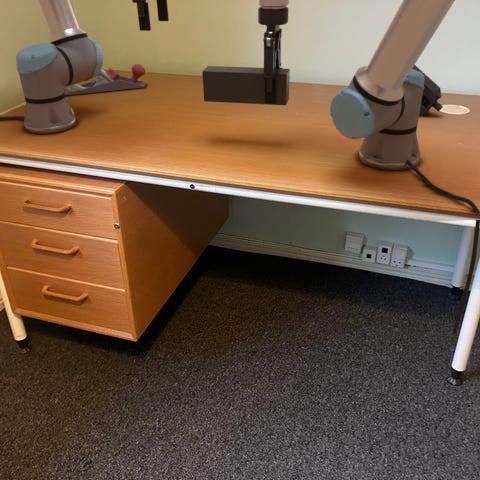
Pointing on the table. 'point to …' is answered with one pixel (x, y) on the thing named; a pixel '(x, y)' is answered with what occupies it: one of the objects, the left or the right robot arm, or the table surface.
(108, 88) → the hand plane
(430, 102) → the tool
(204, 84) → the bar
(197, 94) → the table surface
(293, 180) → the table surface
